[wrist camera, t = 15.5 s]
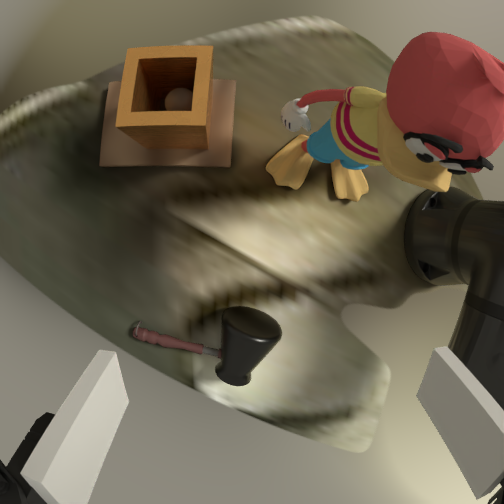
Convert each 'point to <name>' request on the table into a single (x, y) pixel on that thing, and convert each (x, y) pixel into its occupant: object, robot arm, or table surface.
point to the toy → (404, 121)
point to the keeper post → (133, 154)
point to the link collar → (158, 87)
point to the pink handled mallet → (230, 342)
